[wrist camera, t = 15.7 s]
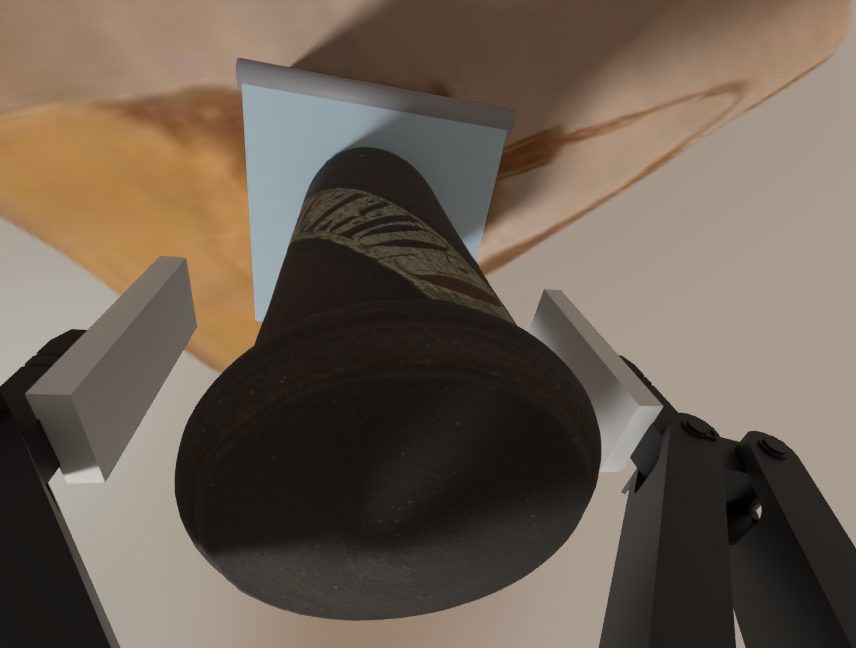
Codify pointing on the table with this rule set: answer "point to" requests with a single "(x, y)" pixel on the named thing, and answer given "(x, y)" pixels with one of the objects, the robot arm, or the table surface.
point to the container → (384, 419)
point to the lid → (351, 128)
